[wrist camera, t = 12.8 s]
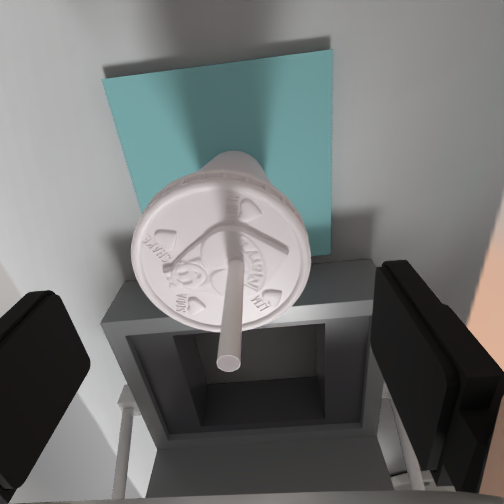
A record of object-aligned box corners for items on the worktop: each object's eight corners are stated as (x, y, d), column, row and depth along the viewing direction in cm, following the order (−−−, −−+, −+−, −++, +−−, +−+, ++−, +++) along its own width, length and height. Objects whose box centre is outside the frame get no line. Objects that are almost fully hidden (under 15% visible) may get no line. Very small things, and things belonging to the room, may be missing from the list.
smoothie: (296, 216, 21) (356, 427, 9) (201, 238, 22) (135, 459, 10) (275, 112, 18) (323, 212, 6) (165, 141, 19) (0, 286, 6)
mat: (330, 49, 17) (332, 49, 16) (328, 250, 23) (330, 254, 22) (106, 78, 18) (101, 79, 17) (161, 266, 23) (159, 270, 23)
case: (390, 256, 23) (709, 695, 7) (374, 396, 31) (509, 761, 15) (106, 283, 24) (-181, 710, 8) (158, 411, 32) (62, 764, 16)
